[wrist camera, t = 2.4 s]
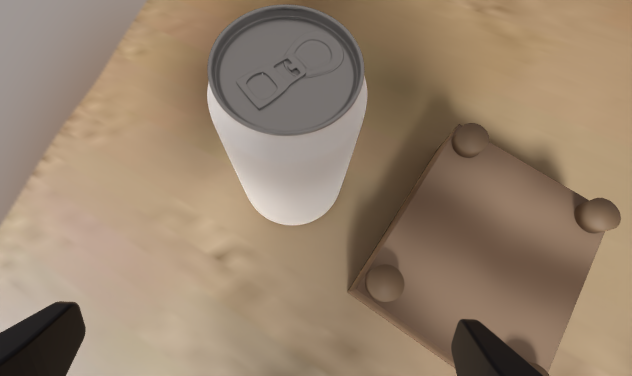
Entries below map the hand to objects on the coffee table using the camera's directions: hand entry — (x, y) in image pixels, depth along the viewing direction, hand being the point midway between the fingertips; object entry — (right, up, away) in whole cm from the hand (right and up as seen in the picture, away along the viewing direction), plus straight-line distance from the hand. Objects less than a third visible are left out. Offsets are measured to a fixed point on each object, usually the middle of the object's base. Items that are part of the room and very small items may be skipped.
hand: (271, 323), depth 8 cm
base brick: (+11, -1, +14) cm, 18 cm away
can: (0, +4, +16) cm, 16 cm away
